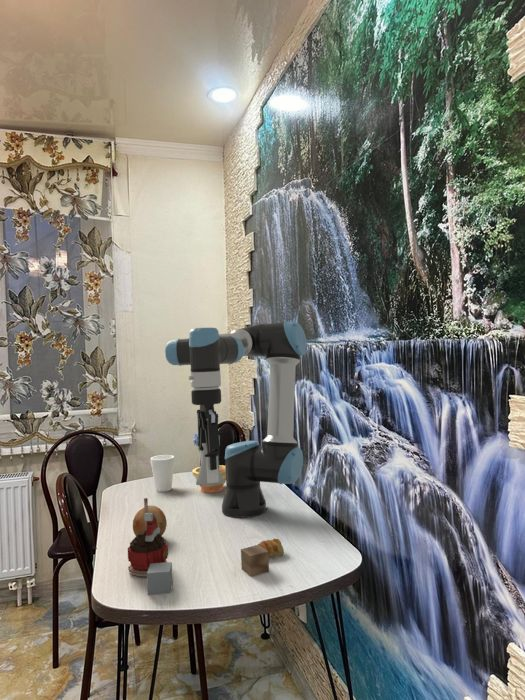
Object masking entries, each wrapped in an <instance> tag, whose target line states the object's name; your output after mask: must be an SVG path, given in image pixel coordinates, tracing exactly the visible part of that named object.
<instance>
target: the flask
mask: <svg viewBox="0 0 525 700" xmlns="http://www.w3.org/2000/svg"><path fill="white" fill-rule="evenodd" d="M202 446H203V449H204V452H203V460H202V463H201V462H200V466H199V467H200V471H199V474H198V477H197V480H196V481H195V485H197V486H200V485H203V486H209V485H218V484H220V483H222V482H223V478H222V475H221V473H220V470H219V468H218V475H219V482H215V483H207V461H206V457H205V454H207V446H206V443H203V444H202Z"/></svg>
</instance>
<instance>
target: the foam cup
mask: <svg viewBox="0 0 525 700" xmlns="http://www.w3.org/2000/svg"><path fill="white" fill-rule="evenodd" d="M150 466H151V470H152V478H153V484H154V489H155V491H156V492H159V493H161V492H164V493H165V492H168V491H171V490H172V487H173V480H174V479H173V477H174V469H175V467H174V466H175V456H174V455H173V454H171V455H170V454H161V455H155V456H152V457H150Z"/></svg>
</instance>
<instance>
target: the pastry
mask: <svg viewBox="0 0 525 700" xmlns="http://www.w3.org/2000/svg"><path fill="white" fill-rule="evenodd" d="M257 545H260V546H261V547H263V548H264V549H266V550H267V551H268V557H269V560H271V559H277V558H281V557H283V556H284V554H285V551H284V547H283V545H282V541H281V539H279V538H272V539H267V540H262V541H260V542H259V543H257Z"/></svg>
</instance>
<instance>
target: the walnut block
mask: <svg viewBox="0 0 525 700" xmlns="http://www.w3.org/2000/svg"><path fill="white" fill-rule="evenodd" d="M240 558H241V559H240V561H241V563H240V564H241V565H240V566H241V570H242V571H243V572H244V573H246V574H247V575H248V576H249V577H251V578H252V577H256V576H258V575H262V574H265V573H270V562H269V560H270V559H269V557H268V551H267V550H266V549H264V548H263V547H261V546H260V545H258V544H256V545H252V546H249V547H244V548H241V549H240Z"/></svg>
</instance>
